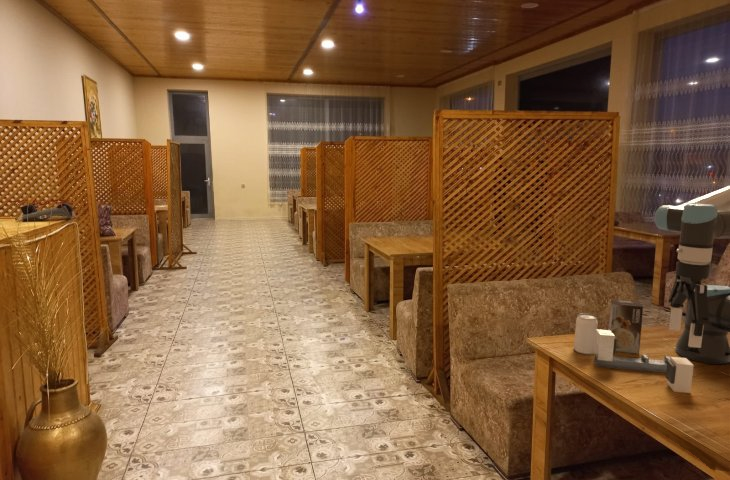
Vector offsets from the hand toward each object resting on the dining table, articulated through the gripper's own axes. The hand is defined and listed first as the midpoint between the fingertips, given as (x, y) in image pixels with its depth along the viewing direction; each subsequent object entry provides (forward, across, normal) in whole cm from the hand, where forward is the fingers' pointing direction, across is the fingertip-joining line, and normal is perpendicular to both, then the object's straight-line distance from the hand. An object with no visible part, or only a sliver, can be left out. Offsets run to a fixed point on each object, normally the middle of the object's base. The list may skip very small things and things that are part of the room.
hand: (683, 338), depth 138 cm
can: (+15, -23, -20) cm, 34 cm away
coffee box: (+15, -28, -7) cm, 32 cm away
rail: (+15, -12, -9) cm, 21 cm away
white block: (+15, 0, 0) cm, 15 cm away
